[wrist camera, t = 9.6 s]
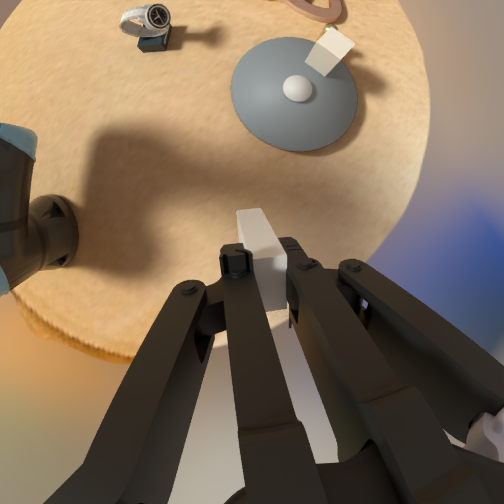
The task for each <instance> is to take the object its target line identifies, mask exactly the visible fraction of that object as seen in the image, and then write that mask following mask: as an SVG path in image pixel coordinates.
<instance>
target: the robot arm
mask: <svg viewBox="0 0 504 504" xmlns="http://www.w3.org/2000/svg"><path fill="white" fill-rule="evenodd" d="M36 148H37V136H36V134H35V132H33V131H32V130H30V129H27V128H24V127H20V126H16V125H11V124H6V123H0V296H2V295H4V294H7V293H8V292H9V291H10V290H12V289H13V288H15V287H16V286H17V285H19V284H20V283H22V282H23V281H25V280H26V279H28V278H29V277H30V276H32V275H33V274H35V273H36V272H38V271H42V270H54V269H58V268H61V267H62V266H64V265H66V264H67V263H68V262H70V261H71V260H72V258H73V257H74V255H75V253H76V250H77V246H78V227H77V223H76V219H75V216H74V214H73V212H72V210H71V208H70V207H69V205H68V204H67V203H66V202H65V201H64V200H63V199H62V198H60V197H58V196H56V195H52V194H48V195H44V196H40V197H37V198H36V199H34V200H33V201H32V202H30V203H29V199H30V189H31V180H32V173H33V166H34V163H35V162H36V157H35V154H36ZM236 213H237V225H238V236H239V243H236V244H227V245H223V247H222V248H221V249H220V253H221V254H220V257H219V260H220V267H221V275H222V277H221V278H220V279H219V280H218V281H217V282H216V283H214V284H211V285H209V286H205V284H204V283H203V282H201V281H199V280H186V281H183V282H181V283H179V284H177V285H176V286H175V287H174V288H173V290H172V292H171V293H170V295H169V297H168V298H167V300H166V302H165V304H164V305H163V307H162V309H161V311H160V312H159V314H158V316H157V318H156V319H155V321H154V323H153V325H152V326H151V328H150V330H149V332H148V334H147V335H146V337H145V339H144V341H143V343H142V345H141V346H140V348H139V350H138V352H137V354H136V356H135V357H134V359H133V361H132V363H131V365H130V367H129V369H128V371H127V373H126V375H125V377H124V378H123V380H122V382H121V384H120V386H119V388H118V390H117V392H116V394H115V396H114V398H113V400H112V402H111V404H110V406H109V408H108V410H107V413H106V414H105V417H104V419H103V421H102V423H101V425H100V427H99V429H98V431H97V433H96V436H95V438H94V440H93V442H92V444H91V447H90V449H89V451H88V453H87V456H86V458H85V460H84V462H83V464H82V465H81V466H80V467H79V468H78V469H77V470H76V471H75V472H74V473H73V474H72V475H71V476H70V478H68V479H67V480H66V481H65V482H64V483H63V484H62V485H61V486H60V488H58V489H57V490H56V491H55V493H53V495H51V496H50V497H49V498H48V499H47V500H46V501H45V502H44V503H43V504H167V503H168V500H169V497H170V494H171V492H172V488H173V484H174V481H175V477H176V473H177V470H178V466H179V462H180V459H181V455H182V452H183V448H184V444H185V441H186V437H187V434H188V430H189V426H190V423H191V419H192V416H193V412H194V409H195V405H196V402H197V398H198V395H199V391H200V388H201V384H202V381H203V377H204V374H205V370H206V367H207V363H208V360H209V357H210V353H211V350H212V347H213V343H214V340H215V334H217V333H219V332H222V331H225V330H227V340H228V349H229V358H230V367H231V376H232V385H233V393H234V401H235V409H236V416H237V424H238V439H239V448H240V455H241V461H242V468H243V474H244V480H245V487H244V488H242V489H240V490H238V491H237V492H236V493H235V494H233V495H232V496H231V497H230V498H229V499H228V500H227V501H226V502H225V503H224V504H504V366H503V365H502V364H501V363H499V362H498V361H497V360H496V359H495V358H493V357H492V356H491V355H490V354H489V353H487V352H486V351H485V350H484V349H482V348H481V347H480V346H479V345H478V344H476V343H475V342H474V341H473V340H471V339H470V338H469V337H467V336H466V335H465V334H464V333H462V332H461V331H460V330H459V329H457V328H456V327H455V326H453V325H452V324H451V323H449V322H448V321H447V320H445V319H444V318H443V317H441V316H440V315H439V314H437V313H436V312H435V311H433V310H432V309H430V308H429V307H428V306H426V305H425V304H424V303H422V302H421V301H420V300H418V299H417V298H415V297H414V296H413V295H411V294H410V293H408V292H407V291H405V290H404V289H403V288H401V287H400V286H398V285H397V284H396V283H394V282H393V281H391V280H390V279H388V278H387V277H385V276H384V275H382V274H381V273H379V272H378V271H376V270H375V269H374V268H372V267H371V266H369V265H368V264H366V263H364V262H362V261H360V260H356V259H348V260H344V261H342V262H340V264H339V269H324V268H323V267H322V265H321V264H320V263H319V262H318V261H317V260H315V259H312V258H308V256H307V255H306V253H305V252H304V251H303V249H302V248H301V246H300V245H299V243H298V242H297V240H295V239H293V238H291V237H284V238H277V236H276V235H275V233H274V231H273V229H272V227H271V226H270V224H269V222H268V220H267V219H266V217H265V215H264V213H263V212H262V210H261V208H253V209H243V210H236ZM363 299H364V300H365V301H367V302H368V306H367V309H366V308H364V307H363V306H362V303H363ZM287 301H288V303H289V328H291V325H292V324H293V326H294V329H295V331H296V334H297V336H298V339H299V342H300V344H301V347H302V350H303V352H304V355H305V358H306V360H307V363H308V365H309V368H310V371H311V373H312V376H313V379H314V381H315V384H316V387H317V389H318V392H319V394H320V397H321V400H322V403H323V405H324V408H325V411H326V414H327V416H328V419H329V422H330V424H331V427H332V429H333V433H334V435H335V438H336V441H337V446H338V460H339V462H338V463H324V464H316V463H315V460H314V457H313V453H312V450H311V447H310V443H309V440H308V437H307V434H306V431H305V428H304V426H303V424H302V422H301V421H299V420H298V419H297V417H296V415H295V411H294V408H293V405H292V401H291V398H290V395H289V391H288V388H287V384H286V381H285V377H284V374H283V371H282V367H281V364H280V361H279V357H278V354H277V350H276V347H275V343H274V340H273V336H272V333H271V329H270V326H269V322H268V319H267V316H266V312H268V311H275V310H281V309H287ZM443 429H444V430H445V431H446V432H447V433H449V434H450V435H452V436H453V437H454V438H456V439H457V440H459V441H461V442H463V443H465V446H464V447H463V448H461V447H458V446H456V445H454V444H451V442H450V440H449V439H448V437H447V435H446V434H445V432H444V430H443Z"/></svg>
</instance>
